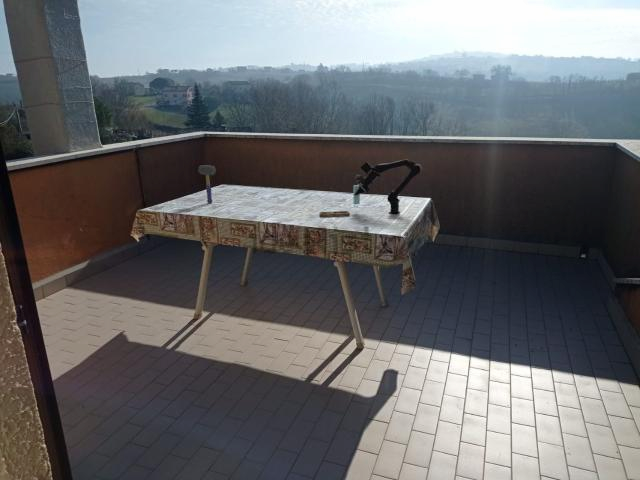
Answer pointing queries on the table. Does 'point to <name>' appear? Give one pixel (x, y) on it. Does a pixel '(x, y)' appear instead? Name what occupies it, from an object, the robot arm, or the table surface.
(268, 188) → the table surface
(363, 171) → the robot arm
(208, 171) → the rubber mallet
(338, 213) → the walnut rack
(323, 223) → the table surface
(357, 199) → the teal board
